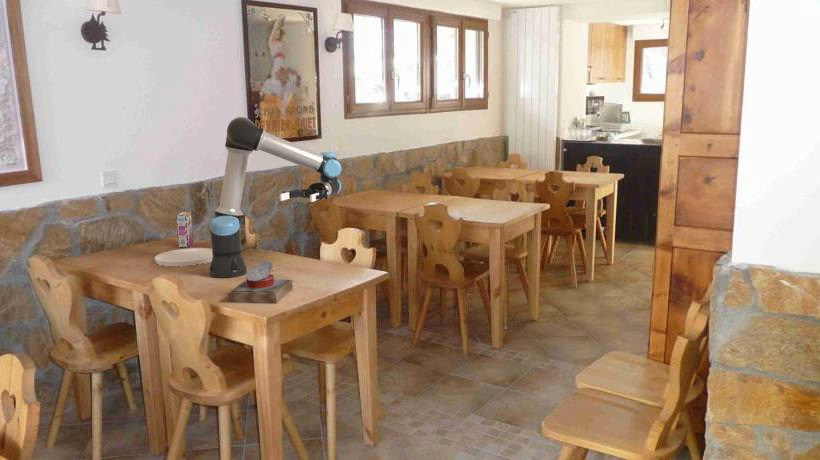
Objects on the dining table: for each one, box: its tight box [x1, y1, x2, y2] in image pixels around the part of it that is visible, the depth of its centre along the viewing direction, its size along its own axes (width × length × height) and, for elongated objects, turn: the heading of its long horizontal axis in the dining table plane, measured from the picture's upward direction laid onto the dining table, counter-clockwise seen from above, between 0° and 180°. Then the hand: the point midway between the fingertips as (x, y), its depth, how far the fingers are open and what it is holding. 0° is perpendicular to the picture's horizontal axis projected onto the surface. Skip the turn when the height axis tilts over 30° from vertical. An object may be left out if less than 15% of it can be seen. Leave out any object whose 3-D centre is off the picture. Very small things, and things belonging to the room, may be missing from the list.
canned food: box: [245, 260, 275, 289], centre depth 252 cm, size 11×10×10 cm
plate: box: [154, 247, 213, 268], centre depth 314 cm, size 28×28×2 cm
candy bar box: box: [176, 211, 194, 249], centre depth 342 cm, size 11×5×16 cm, turn 5°
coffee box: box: [240, 214, 248, 251], centre depth 331 cm, size 9×6×16 cm
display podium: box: [227, 278, 294, 304], centre depth 253 cm, size 18×18×4 cm
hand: (295, 198), depth 274 cm, fingers open, 13 cm apart
